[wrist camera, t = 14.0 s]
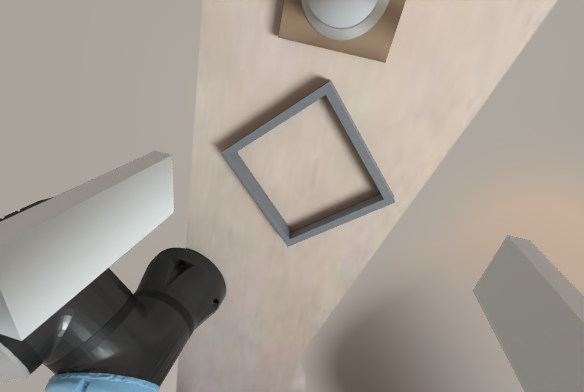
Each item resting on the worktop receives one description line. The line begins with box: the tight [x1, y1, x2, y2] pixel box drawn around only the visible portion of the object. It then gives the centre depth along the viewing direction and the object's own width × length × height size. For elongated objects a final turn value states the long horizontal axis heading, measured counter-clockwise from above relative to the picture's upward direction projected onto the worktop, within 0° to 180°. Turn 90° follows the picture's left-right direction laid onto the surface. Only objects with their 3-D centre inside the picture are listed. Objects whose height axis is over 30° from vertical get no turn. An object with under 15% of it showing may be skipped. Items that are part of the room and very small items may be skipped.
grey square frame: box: [221, 81, 395, 246], centre depth 39 cm, size 17×17×2 cm
